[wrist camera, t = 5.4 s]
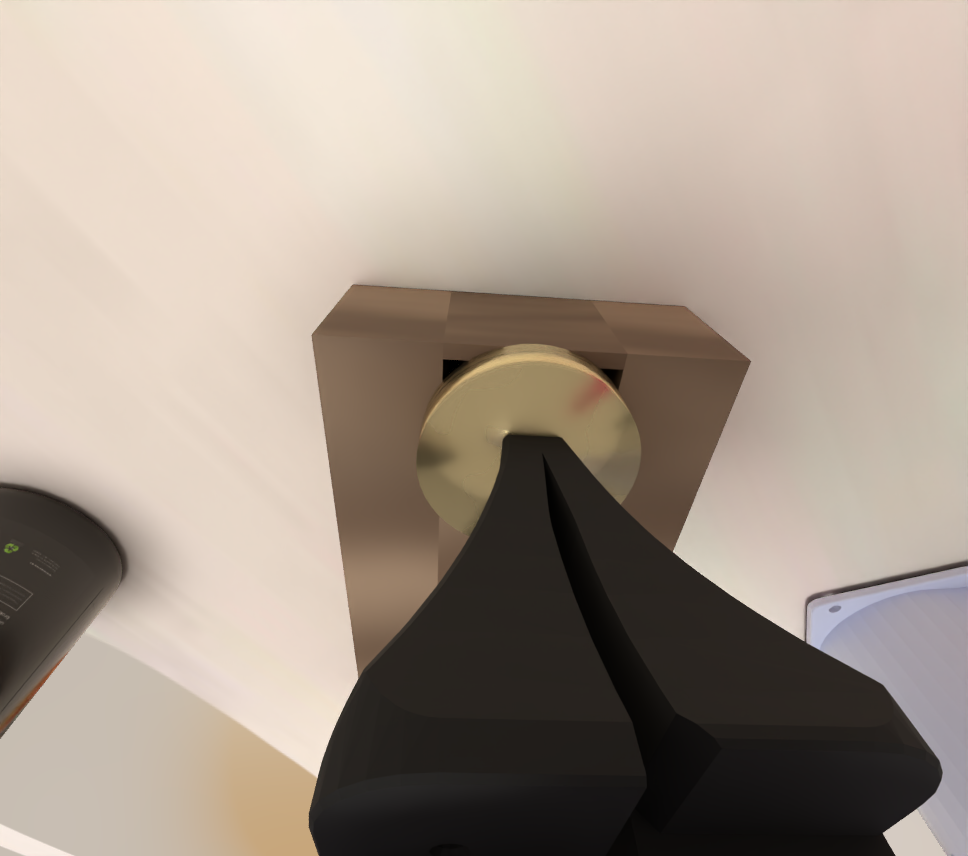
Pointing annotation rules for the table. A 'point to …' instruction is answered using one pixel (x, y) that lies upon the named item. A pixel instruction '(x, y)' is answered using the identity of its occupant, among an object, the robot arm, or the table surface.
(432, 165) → the table surface
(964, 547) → the table surface
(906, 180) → the table surface
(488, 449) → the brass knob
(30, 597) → the supplement bottle
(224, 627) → the table surface
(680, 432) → the control panel
